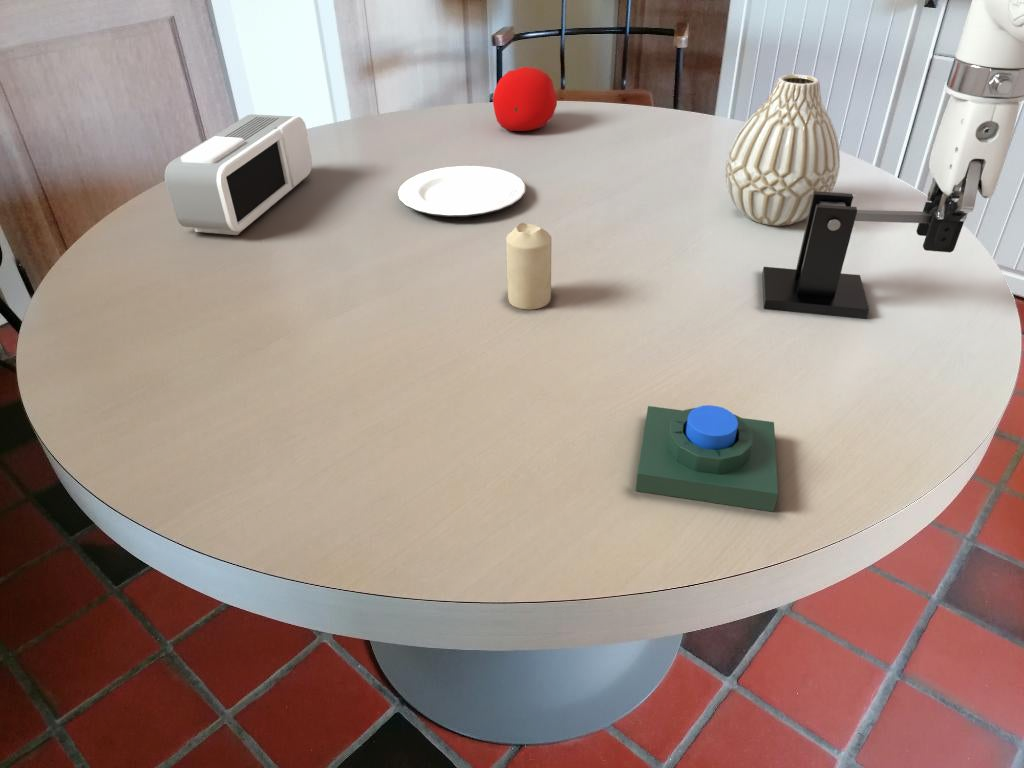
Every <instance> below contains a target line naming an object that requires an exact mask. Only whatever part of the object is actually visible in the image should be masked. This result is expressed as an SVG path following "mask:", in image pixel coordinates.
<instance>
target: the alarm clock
mask: <svg viewBox="0 0 1024 768" xmlns="http://www.w3.org/2000/svg"><path fill="white" fill-rule="evenodd" d="M312 167H313V157H312V153H311V147H310V140H309V135H308V130H307V125H306V123H305V121H304V119H303V118H302V117H301V116H293V115H290V116H288V115H272V114H271V115H270V114H253V113H252V114H247V115H246V116H244V117H242V118H240V119H239V120H237V121H235V122H234V123H232V124H230V125H229V126H227V127H226V128H224V129H222V130H220V131H219V132H217V133H216V134H214V135H212V136H211V137H209V138H207V139H206V140H204V141H202V142H201V143H199V144H197V145H196V146H194V147H192V148H190V149H189V150H188V151H185V152H184V153H182V154H181V155H179V156H177V157H176V158H174V159H172V160H170V162H169V163H168V164H167V165H166V167H165V170H164V180H165V185H166V189H167V192H168V195H169V199H170V202H171V205H172V208H173V212H174V215H175V218H176V220H177V222H178V223H179V224H180V225H181V226H182V227H184V228H193V229H194V231H195V232H196V233H207V234H217V235H220V234H221V235H232V236H238V235H239V234H240V233H241V232H243V231H244V230H245V229H246V228H247V227H249V226H250V225H251V224H252V223H253V222H254V221H256V220H257V219H258V218H260V217H261V216H263V214H265V212H267V211H268V210H269V209H271V207H273V206H274V205H275V204H276V203H277V202H278V201H280V200H281V199H282V198H283V197H285V196H286V195H287V194H288V193H290V191H292V190H293V189H294V188H295V187H297V185H299V184H300V183H301V182H302V181H303V180H304V179H305V178H307V177H308V176H309V175H310V174H311V171H312V169H313V168H312Z"/></svg>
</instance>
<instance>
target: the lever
mask: <svg viewBox="0 0 1024 768" xmlns="http://www.w3.org/2000/svg"><path fill="white" fill-rule="evenodd" d="M820 204H821V205H835V206H846V204H845V202H822V201H820ZM948 205H949V204H948ZM938 208H939V205H937V206H935V207H934V208H932V209H931V210H930V212H923V210H922V211H920V210H919V211H918V210H916V211H915V210H885V209H884V210H880V209H857V214H856V218H855V222H867V223H868V222H870V223H871V222H873V223H875V222H876V223H903V224H904V223H905V224H906V223H907V224H909V223H910V224H919V223H928V225H930V222H931V219H932V216H936V215H937V211H938Z"/></svg>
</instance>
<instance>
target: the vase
mask: <svg viewBox="0 0 1024 768" xmlns="http://www.w3.org/2000/svg"><path fill="white" fill-rule="evenodd" d="M820 84H821V83H820V80H819V78H817V77H815V76H812V75H807V74H797V73H795V74H785V75H781V76H780V77H778V79H777V80H776V82H775V84H774V87H773V88H772V91H771V92H770V94H769V96H768V97H767V98H766V100H765V101H764V102H763V103H762V104H761V105H760V106H759V107H758V108H757V109H756V110H755V111H754V112H753V113H752V114H751V115H750V117H749V118H748V119H747V120H746V122H745V123H744V124H743V125H742V126H741V128H740V130H739V132H738V133H737V135H736V137H735V139H734V140H733V143H732V145H731V147H730V150H729V153H728V155H727V159H726V163H725V164H726V165H725V183H726V188H727V192H728V195H729V197H730V199H731V201H732V203H733V204H734V206H735V207H736V209H738V211H739V212H740V213H741V214H743V216H745V217H746V218H747V219H749V220H751V221H752V222H755V223H758V224H762V225H768V226H777V227H778V226H779V227H781V226H782V227H783V226H789V225H795V224H797V223H799V222H801V221H803V220H806V219H808V214H809V210H810V205H811V201H812V197H813V192H814V191H819V192H833V191H834V188H835V186H836V184H837V181H838V178H839V173H840V168H841V155H840V145H839V139H838V135H837V132H836V130H835V129H836V128H835V126H834V124H833V122H832V118H831V117H830V115H829V113H828V111H827V110H826V108H825V105H824V103H823V99H822V93H821V85H820Z"/></svg>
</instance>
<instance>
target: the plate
mask: <svg viewBox="0 0 1024 768" xmlns="http://www.w3.org/2000/svg"><path fill="white" fill-rule="evenodd" d="M525 194H526V184H525V182H524V181H523V180H522V178H520V177H519V176H518V175H516V174H514V173H513V172H509V171H507V170H504V169H501V168H495V167H490V166H479V165H456V166H447V167H440V168H434V169H431V170H427V171H425V172H421V173H418V174H416V175H414V176H412V177H410V178H408V179H407V180H406V181H404V182H403V184H401V185H400V186H399V189H398V192H397V196H398V199H399V201H400V203H402V204H403V205H404V206H406V207H407V208H408V209H411V210H413V211H416V212H418V213H421V214H426V215H430V216H436V217H447V218H470V217H478V216H483V215H486V214H490V213H495V212H500V211H501V210H504V209H506V208H509V207H511V206H513V205H514V204H515V203H517V202H519V201H520V200H521V199H522V198H523V196H524V195H525Z"/></svg>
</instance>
